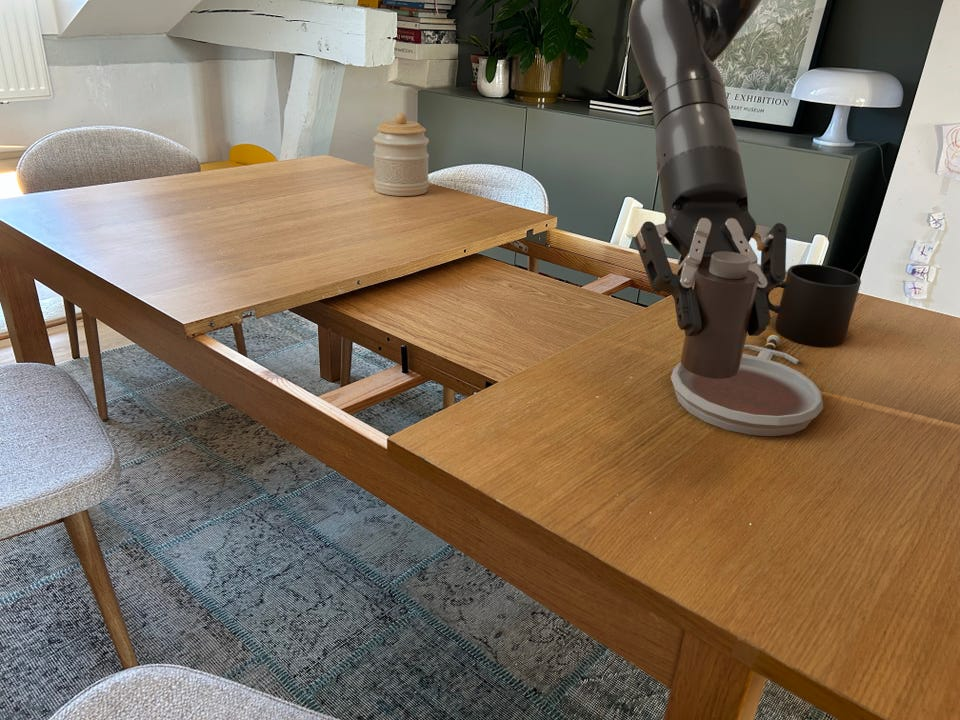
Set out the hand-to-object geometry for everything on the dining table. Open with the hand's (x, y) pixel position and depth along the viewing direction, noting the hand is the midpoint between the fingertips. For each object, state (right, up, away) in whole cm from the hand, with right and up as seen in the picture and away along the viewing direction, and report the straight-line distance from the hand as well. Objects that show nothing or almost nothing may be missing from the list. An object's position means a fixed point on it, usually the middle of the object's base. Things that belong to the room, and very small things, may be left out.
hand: (726, 332), depth 64 cm
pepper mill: (0, -3, +3) cm, 5 cm away
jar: (-40, +38, +110) cm, 123 cm away
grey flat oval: (+12, -6, +27) cm, 30 cm away
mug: (+25, +1, +42) cm, 49 cm away
